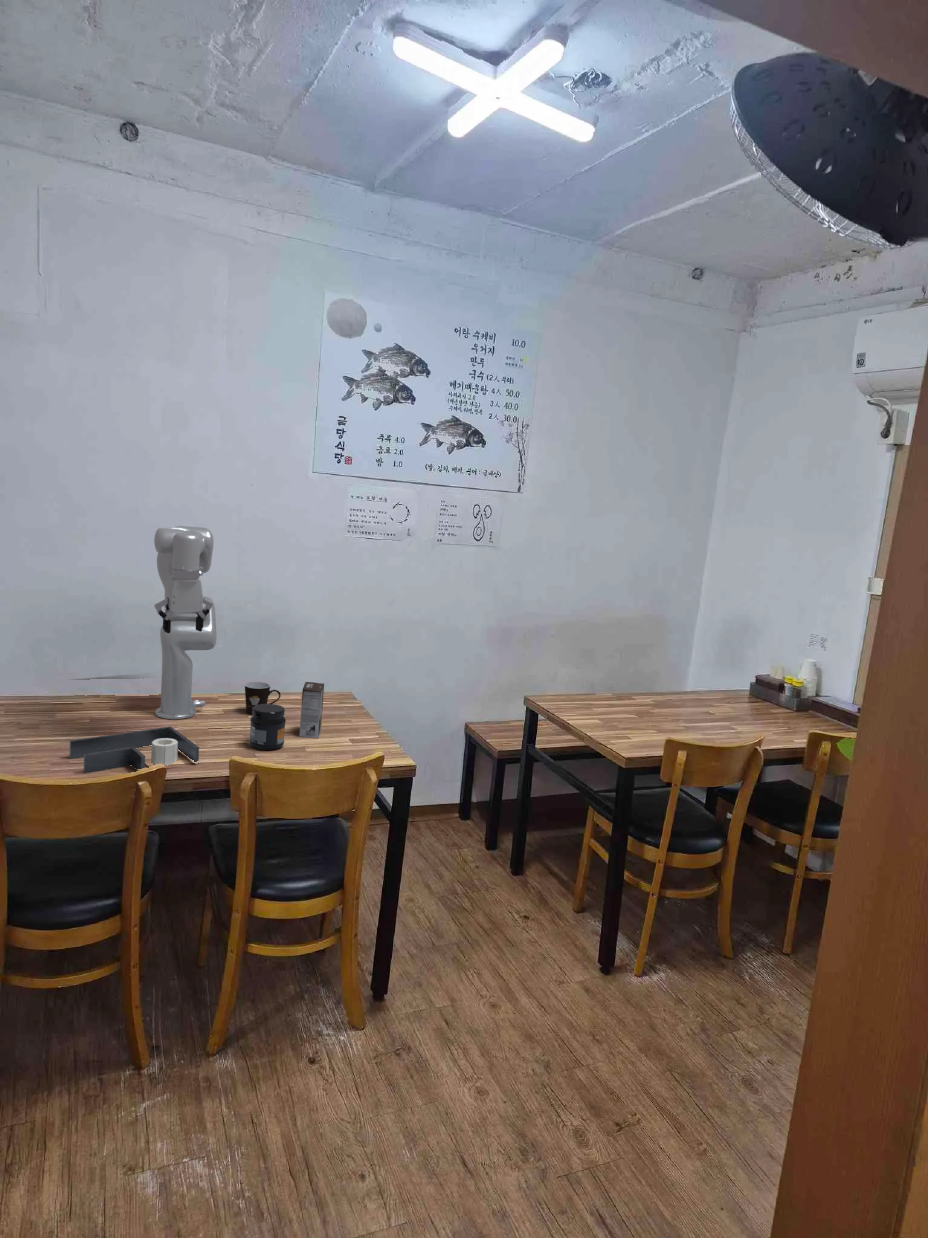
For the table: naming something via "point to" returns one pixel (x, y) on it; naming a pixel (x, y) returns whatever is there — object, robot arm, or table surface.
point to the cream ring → (164, 751)
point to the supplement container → (267, 727)
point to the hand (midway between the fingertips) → (183, 631)
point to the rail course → (125, 748)
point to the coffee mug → (257, 695)
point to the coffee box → (311, 710)
